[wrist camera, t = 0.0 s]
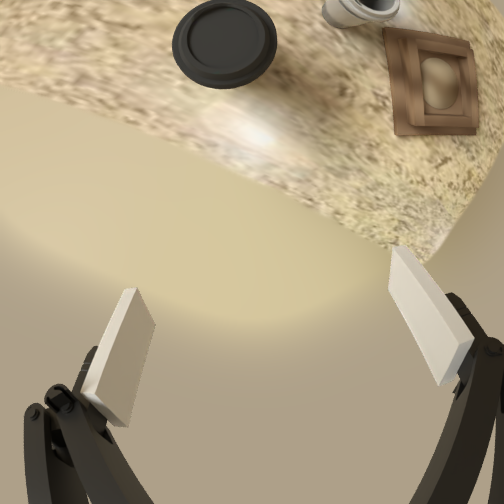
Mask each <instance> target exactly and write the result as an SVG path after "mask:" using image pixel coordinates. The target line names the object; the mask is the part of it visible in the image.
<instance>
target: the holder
mask: <svg viewBox="0 0 504 504" xmlns="http://www.w3.org/2000/svg"><path fill="white" fill-rule="evenodd" d="M382 32H383V37H384V43H385V49H386V55H387V62H388V69H389V76H390V85H391V94H392V105H393V117H394V134H395V135H439V134H441V135H476V128H479V117H478V92H477V79H476V69H475V60H474V53H473V50H472V49H470V43H469V41H465V40H461V39H457V38H453V37H448V36H443V35H438V34H433V33H427V32H421V31H414V30H407V29H399V28H389V27H384V28H382Z"/></svg>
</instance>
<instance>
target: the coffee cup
mask: <svg viewBox="0 0 504 504" xmlns="http://www.w3.org/2000/svg"><path fill="white" fill-rule="evenodd" d="M276 49H277V33H276V28H275V26H274V23H273V21H272V19H271V18H270V17H269V15H268V14H267V13H266V12H265V11H264V10H263V9H262V8H260V7H259V6H257V5H255V4H253V3H251V2H249V1H246V0H210V1H207V2H205V3H202V4H200V5H198V6H197V7H195V8H193V9H192V10H191V11H190V12H188V13H187V14H186V15H185V16H184V17H183V18H182V20H181V21H180V22H179V24H178V26H177V27H176V30H175V32H174V35H173V40H172V52H173V56H174V59H175V61H176V63H177V65H178V66H179V68H180V69H181V70H182V72H183V73H184V74H185V75H186V76H187V77H189V78H190V79H191V80H193V81H194V82H196V83H198V84H200V85H203V86H205V87H209V88H214V89H231V88H236V87H240V86H243V85H246V84H248V83H250V82H252V81H254V80H255V79H257V78H258V77H259V76H261V75H262V74H263V73H264V72H265V71H266V70H267V68H268V67H269V66H270V64H271V63H272V61H273V59H274V56H275V53H276Z"/></svg>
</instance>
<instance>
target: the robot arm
mask: <svg viewBox="0 0 504 504" xmlns="http://www.w3.org/2000/svg"><path fill="white" fill-rule="evenodd" d="M388 290H389V292H390V294H391V296H392V298H393V299H394V301H395V303H396V305H397V306H398V308H399V310H400V312H401V314H402V316H403V317H404V319H405V321H406V323H407V324H408V327H409V329H410V330H411V332H412V334H413V336H414V338H415V340H416V342H417V344H418V346H419V348H420V350H421V352H422V354H423V356H424V358H425V360H426V362H427V364H428V366H429V368H430V370H431V372H432V374H433V377H434V379H435V381H436V383H437V385H438V386H441V385H444V384H446V383H449V382H451V381H453V379H454V378H455V376H456V374H457V373H458V375H459V377H460V381H459V382H458V384H457V386H456V387H455V389H454V391H453V393H455V392H456V393H455V397H454V400H453V403H452V406H451V409H450V412H449V415H448V418H447V421H446V424H445V427H444V429H443V432H442V434H441V437H440V440H439V442H438V445H437V447H436V450H435V452H434V454H433V457H432V459H431V461H430V463H429V466H428V468H427V470H426V472H425V474H424V476H423V478H422V480H421V483H420V484H419V486H418V489H417V490H416V492H415V494H414V496H413V498H412V499H411V501H410V503H409V504H467V503H468V501H469V499H470V496H471V494H472V491H473V489H474V486H475V484H476V481H477V478H478V476H479V473H480V470H481V467H482V464H483V461H484V458H485V455H486V452H487V448H488V445H489V441H490V437H491V433H492V430H493V426H494V421H495V417H496V436H495V454H494V465H493V474H492V481H491V488H490V494H489V500H488V504H504V344H502V343H501V342H500V341H499V340H498V339H496V338H493V337H488V336H487V335H486V333H485V332H484V330H483V329H482V328H481V326H480V325H479V323H478V322H477V320H476V319H475V317H474V316H473V315H472V314H471V312H470V311H469V309H468V308H466V305H465V304H464V302H463V301H462V300H461V298H459V297H458V296H456V295H455V294H454V293H448V294H444V293H443V292H442V290H441V289H440V288H439V286H438V285H437V284H436V282H435V281H434V280H433V279H432V277H431V276H430V274H429V273H428V272H427V271H426V269H425V268H424V267H423V265H422V264H421V263H420V262H419V260H418V259H417V258H416V257H415V256H414V254H413V253H412V252H411V251H410V249H409V248H408V247H407V246H406V245H401V246H395V247H393V248H392V259H391V269H390V278H389V286H388ZM154 329H155V323H154V321H153V319H152V317H151V315H150V313H149V311H148V309H147V307H146V305H145V303H144V301H143V299H142V297H141V294H140V292H139V290H138V288H137V287H135V288H128V289H125V290H124V292H123V294H122V296H121V298H120V300H119V302H118V304H117V306H116V309H115V311H114V313H113V315H112V317H111V319H110V321H109V324H108V326H107V328H106V330H105V332H104V335H103V337H102V339H101V342H100V344H99V346H94V347H93V348H92V349H91V350H90V351H89V353H88V354H87V356H86V358H85V360H84V364H83V365H82V368H81V371H80V372H79V375H78V377H77V380H76V382H75V385H74V387H73V390H72V392H71V391H70V390H69V389H68V388H67V387H66V386H65V385H63V384H56V385H54V386H52V387H51V388H50V389H49V390H48V391H47V393H46V395H45V398H44V402H45V404H47V406H49V408H47V409H45V408H44V407H43V406H42V405H41V404H39V403H33V404H32V405H30V406H29V407H28V408H27V410H26V412H25V416H24V461H25V476H26V486H27V494H28V502H29V504H89V502H88V498H87V495H88V497H89V499H90V501H91V503H92V504H154V503H153V501H152V500H151V499H150V497H149V496H148V494H147V493H146V491H145V490H144V488H143V487H142V485H141V484H140V482H139V481H138V479H137V478H136V476H135V474H134V473H133V471H132V470H131V468H130V466H129V465H128V463H127V461H126V459H125V458H124V456H123V454H122V453H121V451H120V449H119V447H118V445H117V444H116V442H115V440H114V438H113V436H112V434H111V432H110V430H109V429H108V428H107V426H106V423H107V420H108V421H109V422H110V423H111V424H112V425H114V426H118V427H128V426H129V422H130V418H131V413H132V409H133V405H134V401H135V397H136V393H137V389H138V385H139V381H140V378H141V374H142V371H143V367H144V363H145V360H146V356H147V352H148V349H149V346H150V342H151V339H152V336H153V332H154ZM86 493H87V494H86Z"/></svg>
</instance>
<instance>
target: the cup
mask: <svg viewBox="0 0 504 504" xmlns="http://www.w3.org/2000/svg"><path fill="white" fill-rule="evenodd" d="M399 5H400V0H326V2H325V3H324V5H323V7H322V14H323V17H324V19H325V20H326V21H327V22H328V23H329V24H330V25H332V26H334V27H337V28H347V27H351V26H358V25H361V24H365V23H369V22H373V21H374V22H385V21H388V20H390V19H392V18H393V17H394V16H395V15H396V14H397V12H398V10H399Z"/></svg>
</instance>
